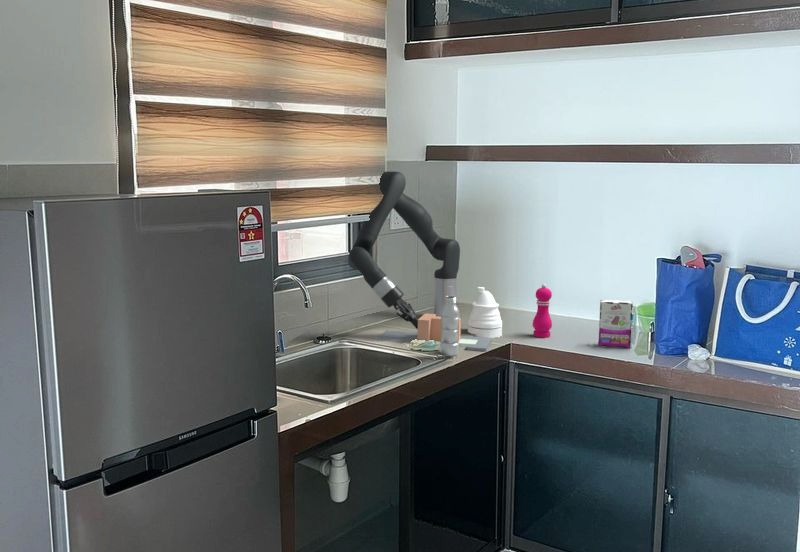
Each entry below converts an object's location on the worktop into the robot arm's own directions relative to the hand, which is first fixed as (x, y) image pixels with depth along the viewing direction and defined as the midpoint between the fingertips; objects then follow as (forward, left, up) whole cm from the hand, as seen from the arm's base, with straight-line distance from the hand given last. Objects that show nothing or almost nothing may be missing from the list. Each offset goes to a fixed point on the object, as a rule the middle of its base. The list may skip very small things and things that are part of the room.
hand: (419, 327), depth 277 cm
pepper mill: (-22, +42, -5) cm, 48 cm away
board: (0, +5, -5) cm, 7 cm away
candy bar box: (-14, +68, -5) cm, 70 cm away
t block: (0, +8, -4) cm, 9 cm away
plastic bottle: (+19, +14, -5) cm, 24 cm away
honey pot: (-18, +21, -5) cm, 28 cm away
